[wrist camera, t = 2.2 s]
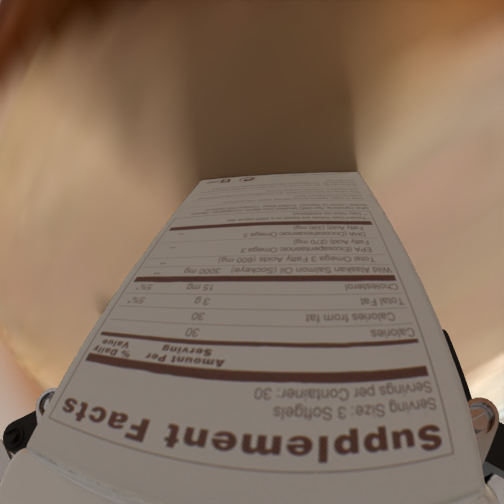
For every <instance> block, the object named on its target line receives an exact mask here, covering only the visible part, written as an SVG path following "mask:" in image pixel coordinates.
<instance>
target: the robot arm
mask: <svg viewBox="0 0 504 504" xmlns="http://www.w3.org/2000/svg"><path fill="white" fill-rule="evenodd" d="M442 331H443V333H444V336H445V338H446V341H447V344H448V346H449V349H450V352H451V355H452V358H453V361H454V363H455V366H456V369H457V371H458V374H459V377H460V380H461V383H462V386H463V390H464V393H465V397H466V400H467V402H468V405H469V409H470V413H471V418H472V422H473V427H474V431H475V436H476V440H477V445H478V449H479V454H480V459H481V465H482V470H483V476H484V481H485V485H486V490H487V492H486V495H485V497H484V498H483V499H482V500H480V501H477V502H475V503H473V504H504V424H502V423H500V422H499V413H498V411H497V408H496V407H495V405H494V404H493V403H492V402H491V401H489V400H488V399H485V398H474V399H472V398H471V394H470V391H469V388H468V385H467V382H466V380H465V377H464V374H463V371H462V368H461V366H460V363H459V360H458V358H457V355H456V352H455V350H454V347H453V345H452V342H451V340H450V338H449V335H448V333H447V332H446V331H445V330H443V329H442ZM56 390H57V388H51V389H48V390H46V391H45V392H43V393H42V395H40V397H39V399H38V400H37V403H36V411H34V412H32V413H30V414H28V415H26V416H24V417H22V418H20V419H18V420H16V421H14V422H12V423H11V424H9V425H8V426H7V428H6V429H5V431H4V435H3V440H0V504H117V503H114V502H112V501H110V500H107V499H105V498H103V497H101V496H99V495H97V494H94V493H92V492H90V491H88V490H86V489H84V488H82V487H80V486H79V485H77V484H75V483H73V482H72V481H70V480H68V479H66V478H65V477H63V476H61V475H60V474H58V473H57V472H55V471H53V470H52V469H50V468H49V467H47V466H46V465H44V464H43V463H41V462H40V461H38V460H37V459H36V458H35V457H34V456H33V455H32V454H31V453H30V452H29V451H28V450H27V444H28V442H29V440H30V438H31V436H32V434H33V432H34V430H35V428H36V427H37V425H38V423H39V421H40V419H41V417H42V416H43V414H44V412H45V410H46V408H47V406H48V405H49V403H50V401H51V399H52V397H53V395H54V393H55V392H56Z"/></svg>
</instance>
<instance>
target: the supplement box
mask: <svg viewBox="0 0 504 504" xmlns="http://www.w3.org/2000/svg"><path fill="white" fill-rule="evenodd" d="M27 450H28V451H29V452H30V453H31V454H32V455H33V456H34V457H35V458H36V459H37V460H38V461H40V462H41V463H43V464H44V465H46V466H47V467H49V468H50V469H52V470H53V471H55V472H57V473H58V474H60V475H61V476H63V477H65V478H66V479H68V480H70V481H72V482H73V483H75V484H77V485H79V486H80V487H82V488H84V489H86V490H88V491H90V492H92V493H94V494H97V495H99V496H101V497H103V498H105V499H107V500H110V501H112V502H114V503H117V504H473V503H475V502H477V501H480V500H482V499H483V498H484V497H485V495H486V492H487V490H486V485H485V481H484V476H483V470H482V465H481V459H480V454H479V449H478V445H477V440H476V436H475V431H474V427H473V422H472V418H471V413H470V409H469V405H468V402H467V400H466V397H465V393H464V390H463V386H462V383H461V380H460V377H459V374H458V371H457V369H456V366H455V363H454V361H453V358H452V355H451V352H450V349H449V346H448V344H447V341H446V338H445V336H444V333H443V331H442V328H441V325H440V323H439V321H438V318H437V316H436V313H435V311H434V309H433V307H432V304H431V302H430V300H429V298H428V295H427V293H426V291H425V289H424V286H423V284H422V282H421V280H420V278H419V276H418V274H417V272H416V270H415V268H414V266H413V264H412V262H411V260H410V258H409V256H408V254H407V252H406V250H405V248H404V246H403V245H402V243H401V241H400V239H399V237H398V236H397V234H396V232H395V230H394V228H393V227H392V225H391V223H390V221H389V220H388V218H387V216H386V214H385V212H384V211H383V209H382V208H381V206H380V204H379V203H378V201H377V200H376V198H375V196H374V195H373V193H372V191H371V190H370V188H369V187H368V185H367V184H366V182H365V181H364V179H363V177H362V176H361V175H360V173H358V172H323V173H294V174H272V175H256V176H242V177H230V178H219V179H209V180H202V181H200V182H199V184H198V185H197V186H196V187H195V188H194V189H193V191H192V192H191V193H190V194H189V196H188V197H187V198H186V199H185V200H184V202H183V203H182V204H181V205H180V206H179V208H178V209H177V210H176V212H175V213H174V214H173V215H172V217H171V218H170V219H169V221H168V222H167V223H166V224H165V226H164V227H163V229H162V230H161V231H160V232H159V233H158V235H157V236H156V237H155V239H154V240H153V241H152V243H151V244H150V245H149V247H148V248H147V250H146V251H145V252H144V254H143V255H142V257H141V258H140V259H139V261H138V262H137V263H136V265H135V266H134V268H133V269H132V270H131V272H130V273H129V275H128V276H127V277H126V279H125V280H124V282H123V283H122V285H121V286H120V288H119V289H118V291H117V292H116V293H115V295H114V297H113V298H112V300H111V301H110V303H109V304H108V306H107V307H106V309H105V310H104V312H103V313H102V315H101V316H100V318H99V319H98V321H97V323H96V324H95V326H94V327H93V329H92V330H91V332H90V334H89V335H88V337H87V338H86V340H85V342H84V343H83V345H82V347H81V348H80V350H79V352H78V353H77V355H76V357H75V358H74V360H73V362H72V363H71V365H70V367H69V369H68V370H67V372H66V374H65V376H64V377H63V379H62V381H61V383H60V384H59V386H58V388H57V390H56V392H55V393H54V395H53V397H52V399H51V401H50V403H49V405H48V406H47V408H46V410H45V412H44V414H43V416H42V417H41V419H40V421H39V423H38V425H37V427H36V428H35V430H34V432H33V434H32V436H31V438H30V440H29V442H28V444H27Z"/></svg>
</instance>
